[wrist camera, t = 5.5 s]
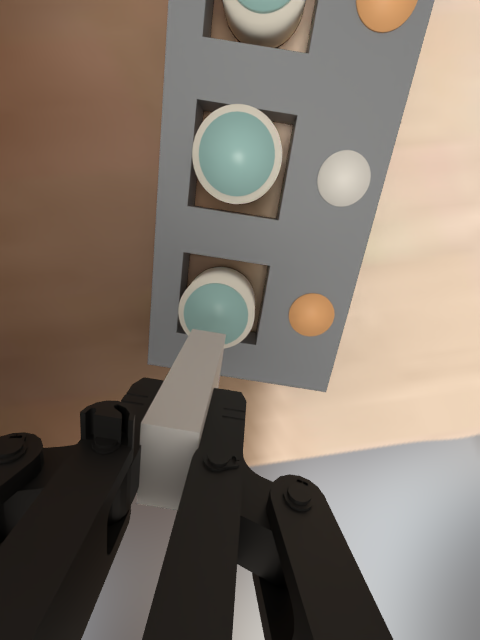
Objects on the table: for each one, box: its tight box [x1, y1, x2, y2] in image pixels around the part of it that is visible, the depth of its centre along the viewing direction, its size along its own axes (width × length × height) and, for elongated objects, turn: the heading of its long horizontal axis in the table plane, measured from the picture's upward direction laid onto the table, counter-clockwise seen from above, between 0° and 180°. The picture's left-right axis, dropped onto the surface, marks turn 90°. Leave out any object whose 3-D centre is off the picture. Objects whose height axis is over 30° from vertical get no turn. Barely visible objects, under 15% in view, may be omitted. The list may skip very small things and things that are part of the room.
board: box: [148, 0, 434, 392], centre depth 21 cm, size 14×30×3 cm, turn 172°
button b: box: [192, 104, 282, 204], centre depth 19 cm, size 5×5×4 cm
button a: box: [178, 267, 255, 349], centre depth 22 cm, size 5×5×4 cm
